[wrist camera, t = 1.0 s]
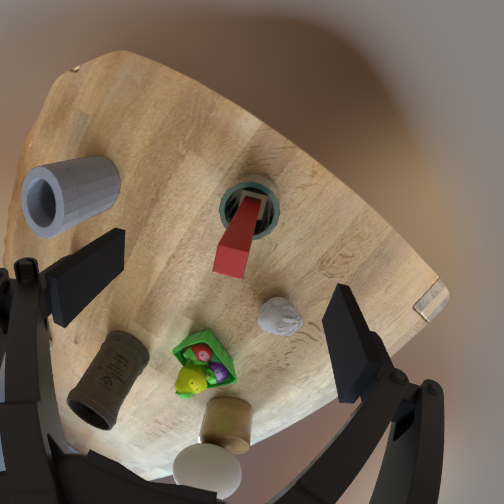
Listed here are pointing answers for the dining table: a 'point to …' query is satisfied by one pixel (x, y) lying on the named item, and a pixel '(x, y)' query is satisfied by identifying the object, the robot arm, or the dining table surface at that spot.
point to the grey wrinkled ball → (279, 317)
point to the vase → (68, 193)
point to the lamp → (217, 448)
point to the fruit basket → (202, 364)
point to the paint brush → (240, 234)
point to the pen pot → (271, 208)
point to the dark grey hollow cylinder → (108, 380)
